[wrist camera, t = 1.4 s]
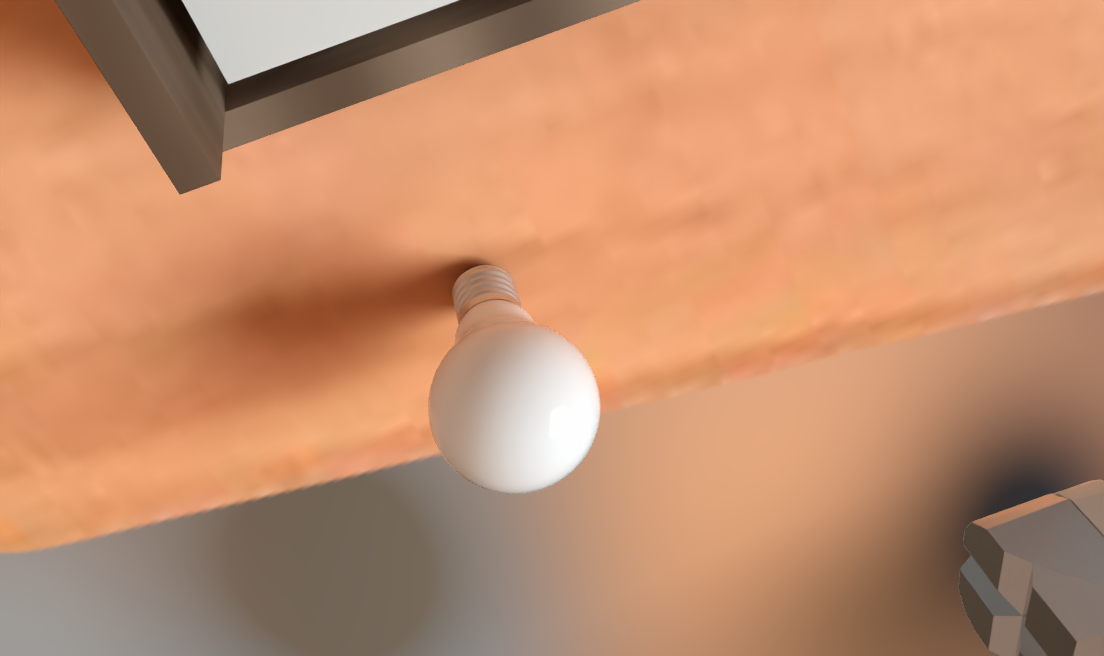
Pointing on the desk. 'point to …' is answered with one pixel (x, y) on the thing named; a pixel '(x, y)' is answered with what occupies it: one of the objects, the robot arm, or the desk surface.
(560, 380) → the lightbulb
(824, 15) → the desk surface
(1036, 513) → the robot arm
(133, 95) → the bay
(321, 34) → the white box with knob
